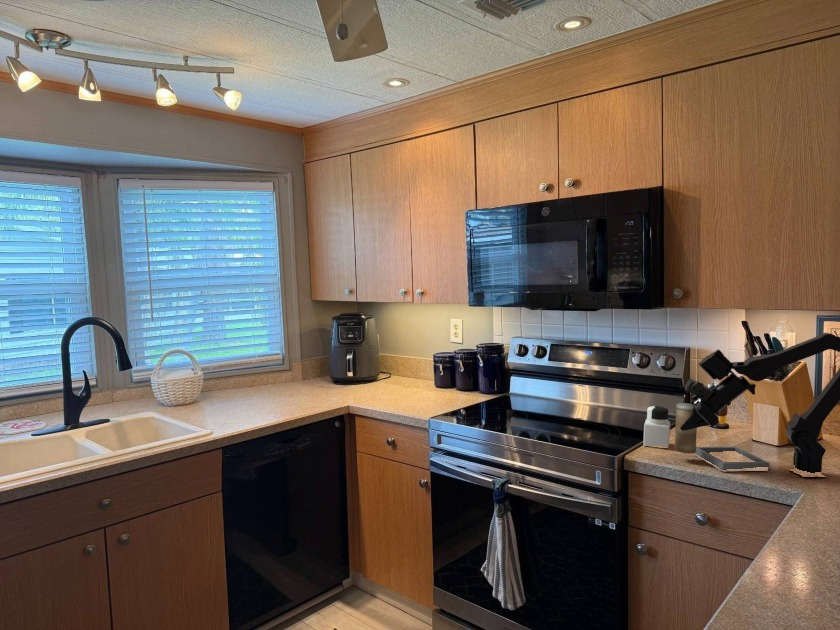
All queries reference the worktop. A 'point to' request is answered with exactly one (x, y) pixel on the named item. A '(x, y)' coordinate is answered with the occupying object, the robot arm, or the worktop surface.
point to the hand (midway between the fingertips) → (680, 427)
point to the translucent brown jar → (687, 438)
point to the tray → (722, 465)
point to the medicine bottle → (657, 427)
